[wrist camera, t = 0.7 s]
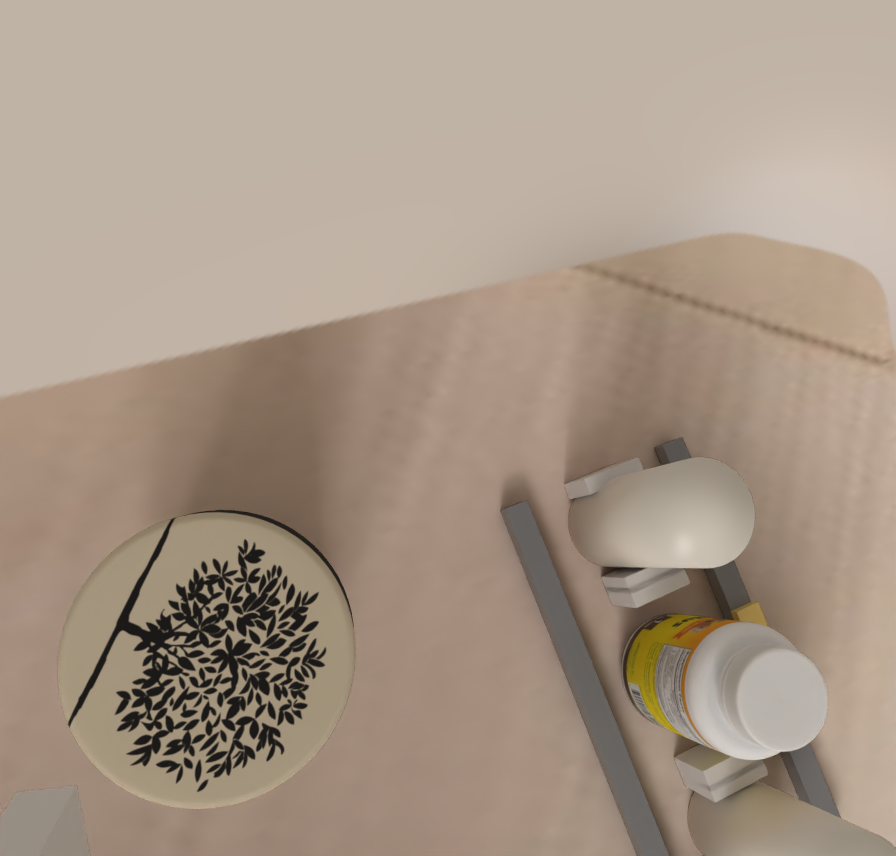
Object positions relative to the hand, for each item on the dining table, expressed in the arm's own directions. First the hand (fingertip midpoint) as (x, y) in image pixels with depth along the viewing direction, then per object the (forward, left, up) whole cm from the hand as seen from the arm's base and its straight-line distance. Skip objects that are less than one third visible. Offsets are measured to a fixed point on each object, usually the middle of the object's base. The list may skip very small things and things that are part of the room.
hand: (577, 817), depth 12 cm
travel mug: (+3, +5, -30) cm, 30 cm away
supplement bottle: (-7, -14, -30) cm, 34 cm away
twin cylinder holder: (-7, -14, -30) cm, 33 cm away
